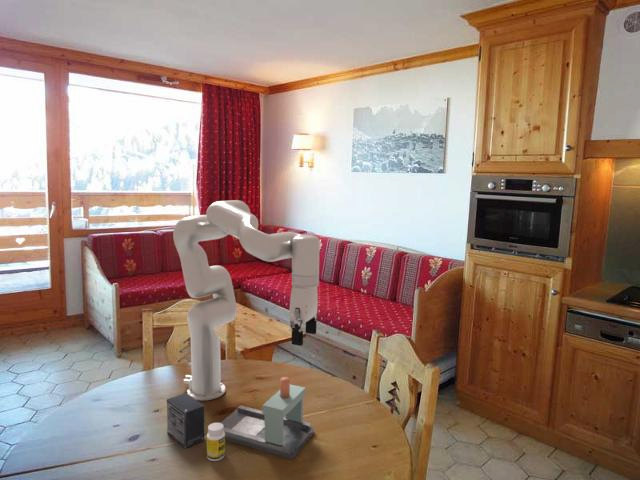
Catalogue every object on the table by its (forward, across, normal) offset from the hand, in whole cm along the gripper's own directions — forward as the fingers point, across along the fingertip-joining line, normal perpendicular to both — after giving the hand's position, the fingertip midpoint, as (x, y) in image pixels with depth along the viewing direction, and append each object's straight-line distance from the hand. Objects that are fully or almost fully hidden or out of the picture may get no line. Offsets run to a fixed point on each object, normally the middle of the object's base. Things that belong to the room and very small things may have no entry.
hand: (304, 338), depth 131 cm
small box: (+28, +16, -29) cm, 44 cm away
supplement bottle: (+28, +20, -16) cm, 38 cm away
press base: (+28, +6, -10) cm, 30 cm away
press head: (+25, +7, -3) cm, 26 cm away
